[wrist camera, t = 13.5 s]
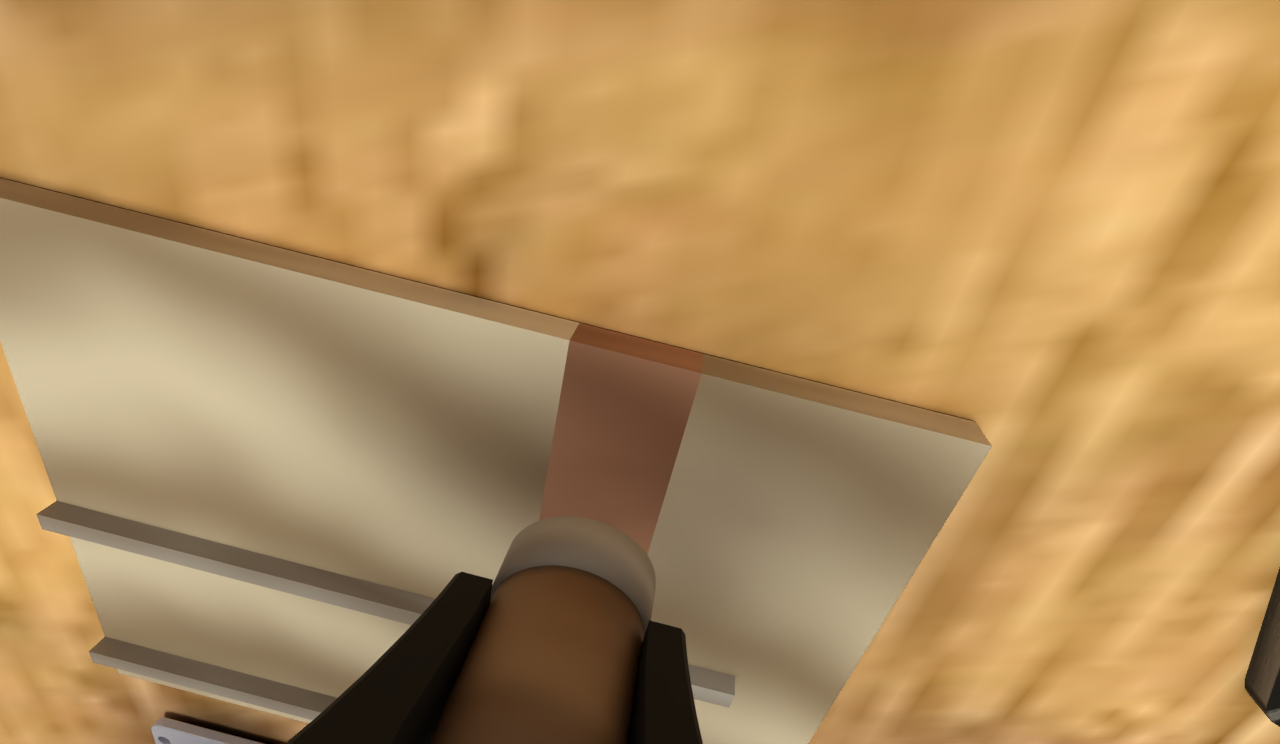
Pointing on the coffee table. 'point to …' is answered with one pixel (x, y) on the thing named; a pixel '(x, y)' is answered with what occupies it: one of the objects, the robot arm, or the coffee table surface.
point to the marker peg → (556, 641)
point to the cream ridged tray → (434, 467)
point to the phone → (1267, 661)
